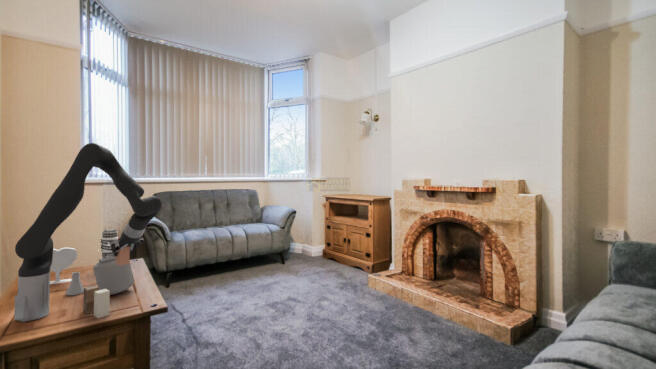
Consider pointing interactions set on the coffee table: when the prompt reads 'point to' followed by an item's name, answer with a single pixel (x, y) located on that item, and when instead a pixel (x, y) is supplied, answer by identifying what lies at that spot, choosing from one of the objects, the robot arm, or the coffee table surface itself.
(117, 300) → the coffee table surface
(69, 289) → the flask
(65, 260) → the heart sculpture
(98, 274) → the jar
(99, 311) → the cream pillar
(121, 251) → the terracotta pillar
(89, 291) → the walnut pillar
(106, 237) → the decorative candle
